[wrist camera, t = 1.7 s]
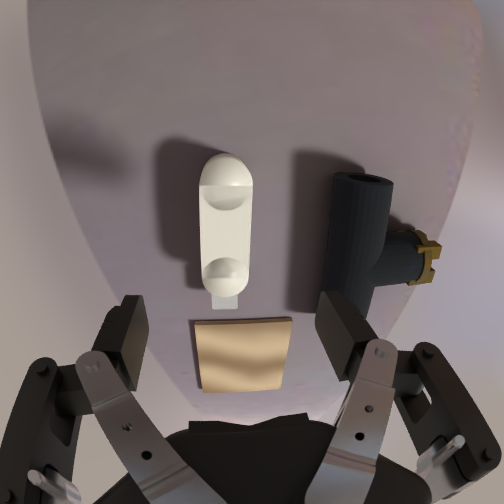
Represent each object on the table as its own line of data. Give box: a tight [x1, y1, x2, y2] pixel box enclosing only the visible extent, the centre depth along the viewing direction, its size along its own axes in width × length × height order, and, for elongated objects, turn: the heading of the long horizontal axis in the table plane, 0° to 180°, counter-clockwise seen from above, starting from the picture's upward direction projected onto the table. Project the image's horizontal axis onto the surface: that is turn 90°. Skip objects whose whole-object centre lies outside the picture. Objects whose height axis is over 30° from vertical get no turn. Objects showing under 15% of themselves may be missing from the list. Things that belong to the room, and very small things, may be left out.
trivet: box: [195, 318, 293, 393], centre depth 30 cm, size 12×10×1 cm
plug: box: [199, 153, 253, 309], centre depth 22 cm, size 13×4×4 cm, turn 178°
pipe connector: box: [321, 172, 442, 320], centre depth 24 cm, size 12×5×15 cm
